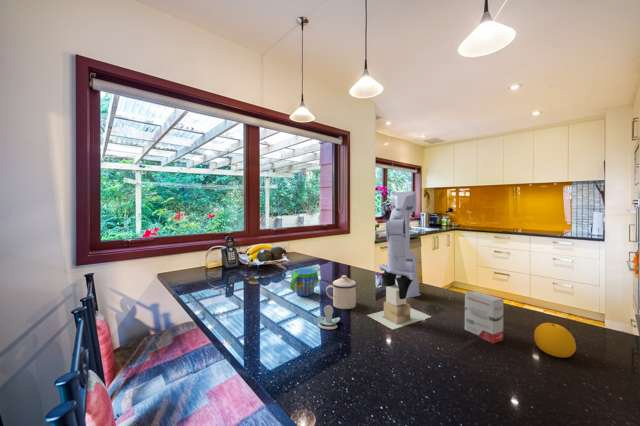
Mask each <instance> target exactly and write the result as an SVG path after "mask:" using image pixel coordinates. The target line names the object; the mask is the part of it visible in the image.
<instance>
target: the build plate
mask: <svg viewBox="0 0 640 426" xmlns="http://www.w3.org/2000/svg"><path fill="white" fill-rule="evenodd" d="M366 316H367V317H369V318H371V319H373V320H375V321H376V322H379V323H380V324H382V325H384V326H385V327H387V328H389V329H390V330H396V329H399V328H402V327H405V326H408V325H411V324H414V323H417V322H419V321H423V320H426V319H430V318H432V315H429V314H426V313H424V312H422V311H419V310H417V309H414V308H412V307H410V320H408V321H405V322H401V323H398V324H396V323H395V322H393V321H391V320H389V319H387V318H385V317H384V310H381V311H378V312H374V313H370V314H366Z"/></svg>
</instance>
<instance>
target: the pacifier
mask: <svg viewBox="0 0 640 426" xmlns="http://www.w3.org/2000/svg"><path fill="white" fill-rule="evenodd" d="M323 311H324V314H325V316H323V315H318V316H317V321H318V322H319V323H317V327H318V328H319V329H323V330H330V331H331V330H335V329H337V328H338V326H339V325H337V323H338V322H339V321H340V320H341V318H340V317H335V318H333V314H334V307H333V305H330V304H327V305H326V306H324V308H323Z"/></svg>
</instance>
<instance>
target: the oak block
mask: <svg viewBox="0 0 640 426" xmlns="http://www.w3.org/2000/svg"><path fill="white" fill-rule="evenodd" d="M410 308H411V304H410V303H407V302H406V304H402V305H399V306H395V305H392V304H390V303H388V302H386V301H383V311H384V317H385V318H387V319H389V320H391V321H393V322H395V323H396V324H398V323H401V322H405V321H408V320H410Z"/></svg>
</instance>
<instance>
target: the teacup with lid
mask: <svg viewBox="0 0 640 426" xmlns="http://www.w3.org/2000/svg"><path fill="white" fill-rule="evenodd" d="M331 283H332V285H331V284H329V285H328V286H326V289H325V294H326V296H327V297H328V298H330V299H332V307H333V308H334V307H335V308H336V309H341V310H350V309H354V308H355V307H356V306H357V304H356V303H357V293H356V290H357V287H356V286H357V282H356V281H355V280H353V279H350V278H349V277H348V276H347V275H341V277H340V278H337V279H335V280H333V282H331ZM330 288H331V289H332V295H331V294H330V292H329V289H330Z"/></svg>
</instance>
